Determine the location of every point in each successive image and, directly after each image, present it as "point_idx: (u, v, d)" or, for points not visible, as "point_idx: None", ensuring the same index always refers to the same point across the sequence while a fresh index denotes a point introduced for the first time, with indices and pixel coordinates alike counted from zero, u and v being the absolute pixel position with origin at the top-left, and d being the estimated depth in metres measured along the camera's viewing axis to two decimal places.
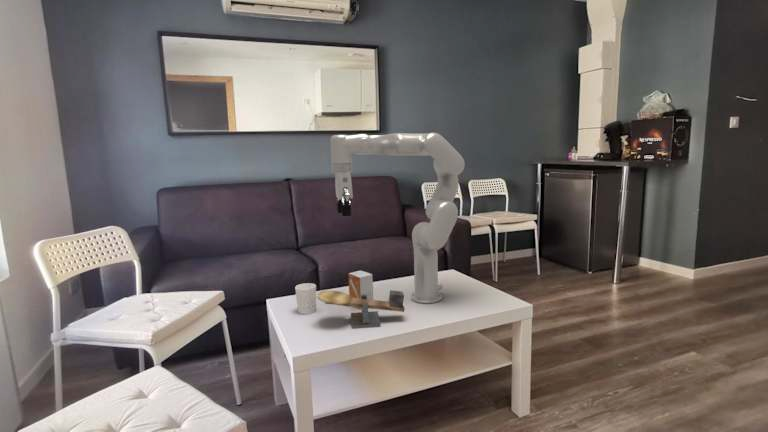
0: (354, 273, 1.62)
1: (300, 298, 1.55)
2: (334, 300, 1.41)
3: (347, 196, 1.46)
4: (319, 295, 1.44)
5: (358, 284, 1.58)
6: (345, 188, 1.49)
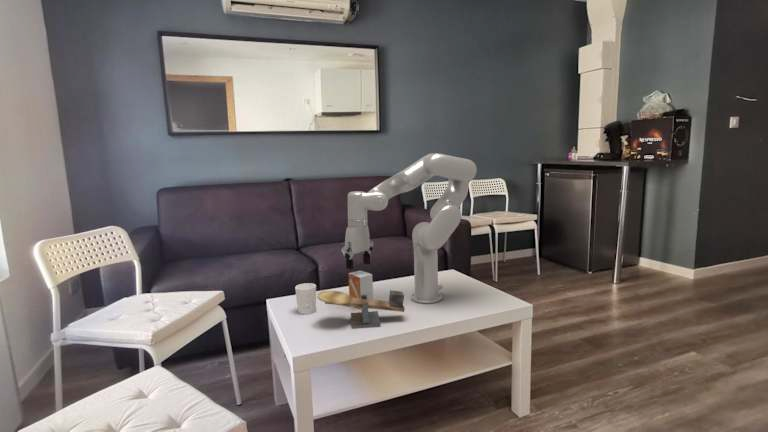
0: (354, 273, 1.62)
1: (300, 298, 1.55)
2: (334, 300, 1.41)
3: None
4: (319, 295, 1.44)
5: (358, 284, 1.58)
6: None
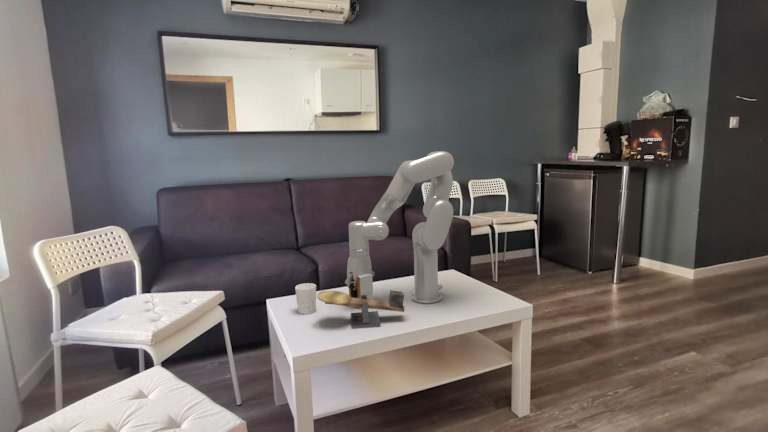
0: None
1: (300, 298, 1.55)
2: (334, 300, 1.41)
3: None
4: (319, 295, 1.44)
5: (358, 284, 1.58)
6: None
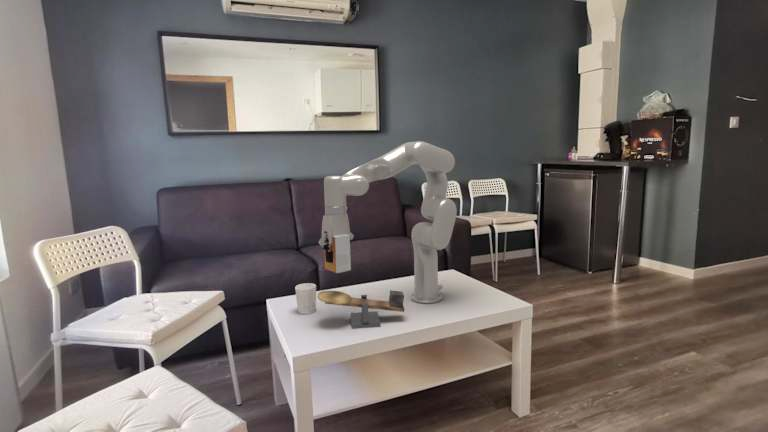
0: None
1: (300, 298, 1.55)
2: (334, 300, 1.41)
3: None
4: (319, 295, 1.44)
5: (333, 245, 1.43)
6: None
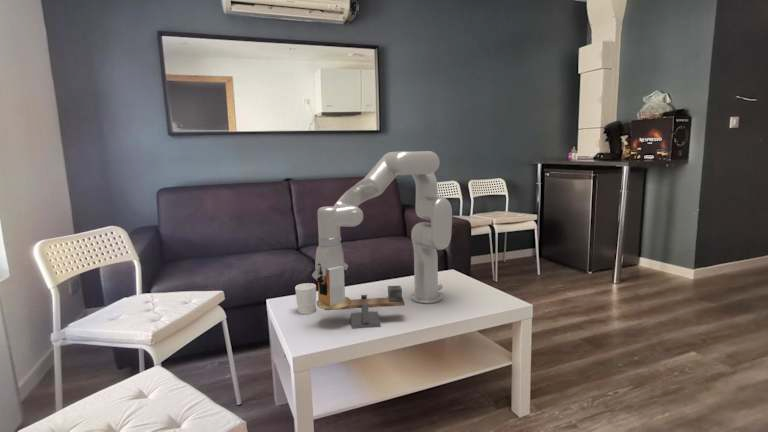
0: None
1: (300, 298, 1.55)
2: (333, 305, 1.41)
3: None
4: (318, 303, 1.44)
5: (327, 277, 1.40)
6: None
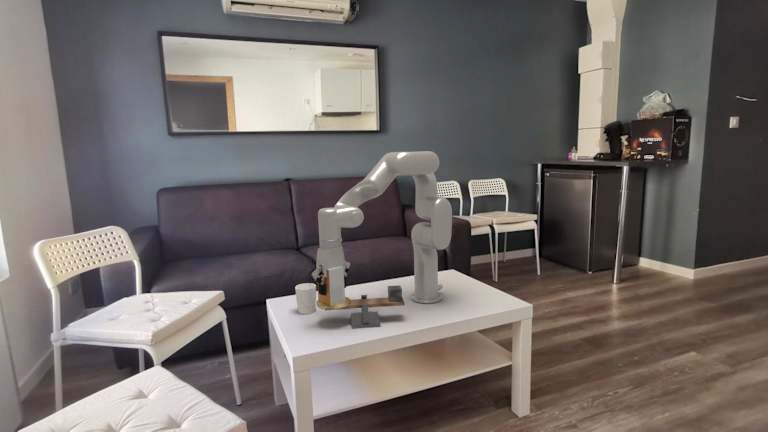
0: None
1: (300, 298, 1.55)
2: None
3: None
4: (318, 303, 1.44)
5: (327, 278, 1.40)
6: None
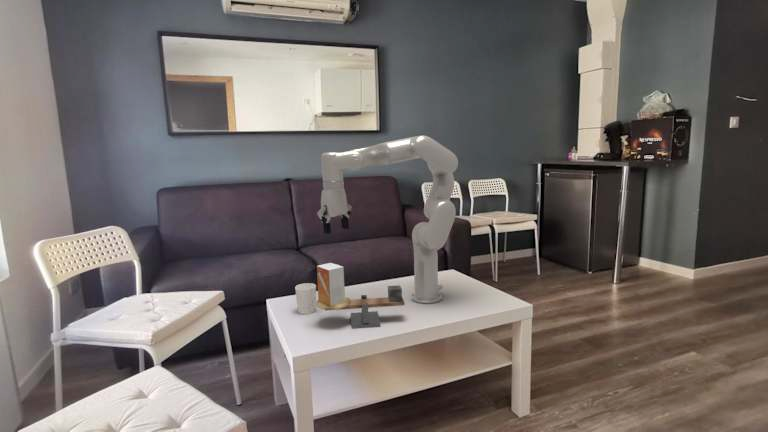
0: (323, 266, 1.44)
1: (300, 298, 1.55)
2: None
3: None
4: (318, 303, 1.44)
5: (327, 278, 1.40)
6: None
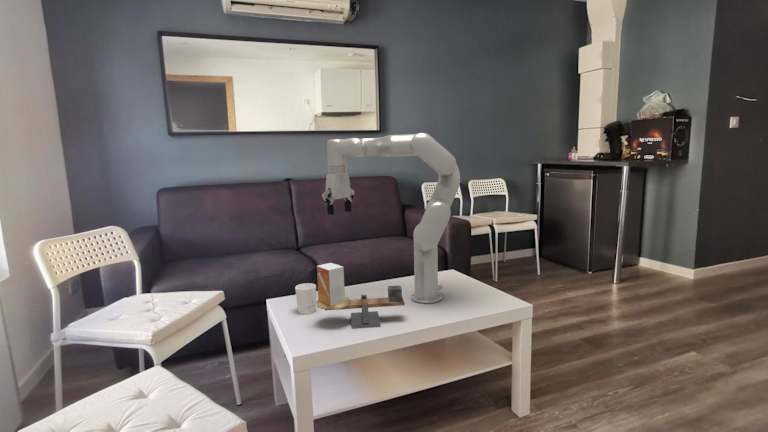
0: (323, 266, 1.44)
1: (300, 298, 1.55)
2: None
3: None
4: (318, 303, 1.44)
5: (327, 278, 1.40)
6: None
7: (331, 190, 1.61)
